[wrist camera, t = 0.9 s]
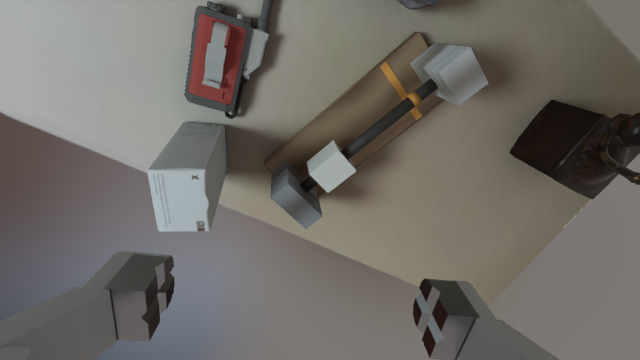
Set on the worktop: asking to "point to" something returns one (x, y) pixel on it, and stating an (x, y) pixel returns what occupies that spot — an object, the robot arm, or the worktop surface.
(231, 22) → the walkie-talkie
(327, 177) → the sleeve
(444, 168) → the worktop surface
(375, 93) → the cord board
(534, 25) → the worktop surface
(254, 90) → the worktop surface
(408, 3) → the perforated stone tool
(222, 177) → the skincare box
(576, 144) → the manual coffee grinder
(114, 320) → the robot arm
